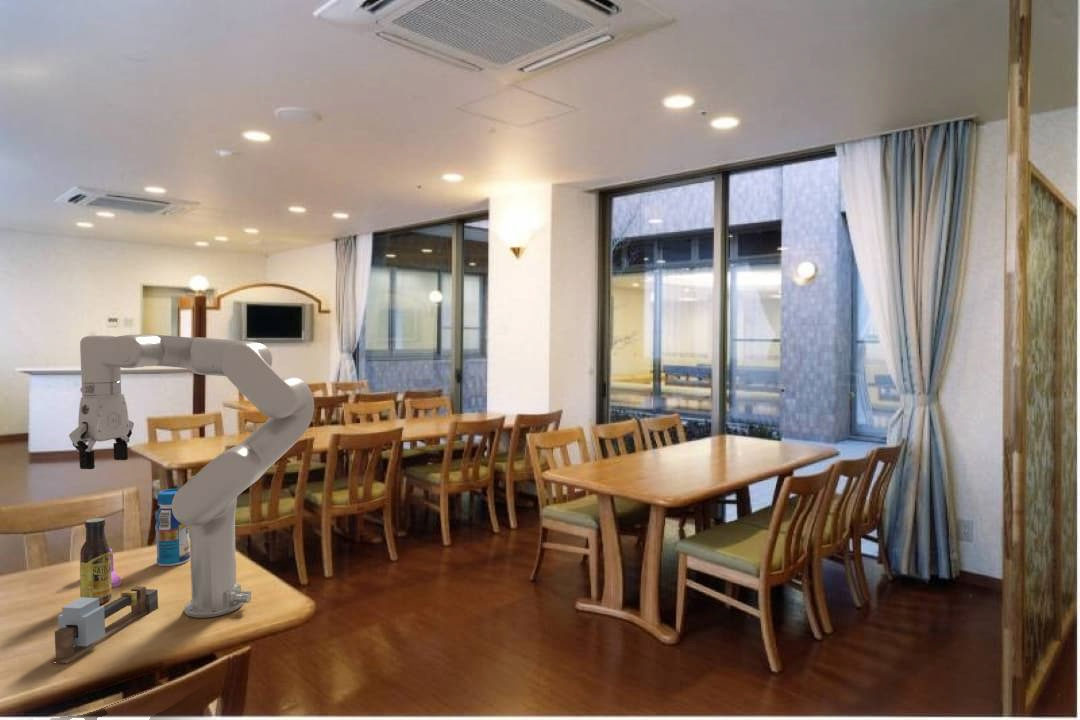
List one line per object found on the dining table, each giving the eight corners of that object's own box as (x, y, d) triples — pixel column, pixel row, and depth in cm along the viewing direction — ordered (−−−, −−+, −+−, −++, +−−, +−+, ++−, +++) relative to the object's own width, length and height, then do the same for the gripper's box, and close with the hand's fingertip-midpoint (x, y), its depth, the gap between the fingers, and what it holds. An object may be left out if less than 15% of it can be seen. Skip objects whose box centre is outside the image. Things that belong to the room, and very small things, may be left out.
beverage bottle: (151, 562, 187) (148, 491, 186) (183, 554, 194) (180, 485, 193) (163, 569, 182) (161, 496, 181) (195, 561, 188) (193, 490, 187)
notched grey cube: (105, 634, 140) (103, 598, 139) (86, 646, 135) (84, 608, 134) (78, 633, 140) (77, 597, 140) (59, 645, 135) (57, 607, 135)
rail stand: (158, 607, 157) (157, 580, 157) (69, 664, 132) (67, 631, 131) (142, 607, 158) (141, 580, 158) (50, 663, 132) (49, 631, 132)
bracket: (85, 578, 177) (84, 552, 176) (110, 572, 180) (109, 546, 180) (97, 592, 167) (96, 564, 167) (123, 585, 171) (121, 559, 171)
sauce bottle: (96, 608, 157) (92, 525, 156) (74, 606, 158) (70, 523, 157) (119, 597, 164) (115, 517, 162) (97, 595, 165) (94, 515, 164)
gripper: (85, 394, 144) (88, 473, 145) (144, 386, 161) (146, 457, 162) (54, 393, 145) (57, 472, 146) (116, 386, 162) (119, 456, 163)
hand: (104, 464), depth 154 cm, fingers open, 9 cm apart
